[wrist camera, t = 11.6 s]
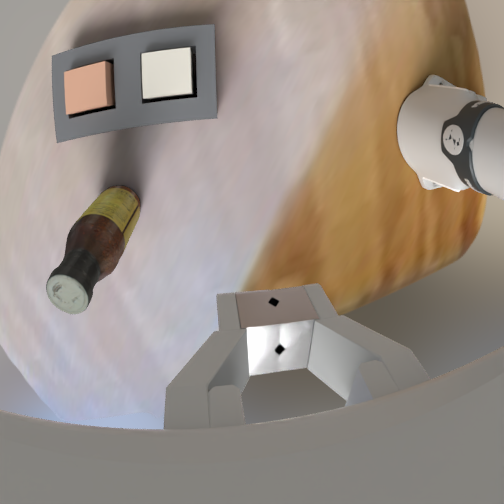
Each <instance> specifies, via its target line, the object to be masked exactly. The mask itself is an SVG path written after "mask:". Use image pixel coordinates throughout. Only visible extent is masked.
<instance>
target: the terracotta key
mask: <svg viewBox="0 0 504 504" xmlns="http://www.w3.org/2000/svg"><path fill="white" fill-rule="evenodd" d="M64 87H65V106H66V115H67V114H76V113H82V112H86V111H91V110H95V109H100V108H104V107H109V106H114V105H116V101H115V82H114V64H111V63H109V62H106V61H103V62H99V63H95V64H91V65H87V66H83V67H80V68H76V69H73V70H70V71H66V72H64Z"/></svg>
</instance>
